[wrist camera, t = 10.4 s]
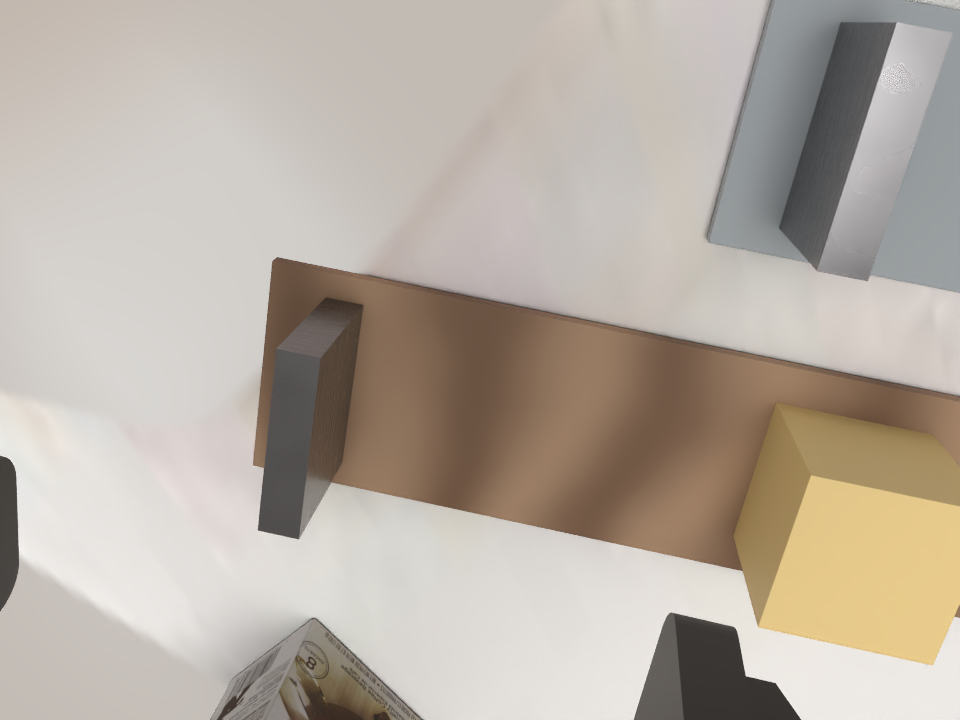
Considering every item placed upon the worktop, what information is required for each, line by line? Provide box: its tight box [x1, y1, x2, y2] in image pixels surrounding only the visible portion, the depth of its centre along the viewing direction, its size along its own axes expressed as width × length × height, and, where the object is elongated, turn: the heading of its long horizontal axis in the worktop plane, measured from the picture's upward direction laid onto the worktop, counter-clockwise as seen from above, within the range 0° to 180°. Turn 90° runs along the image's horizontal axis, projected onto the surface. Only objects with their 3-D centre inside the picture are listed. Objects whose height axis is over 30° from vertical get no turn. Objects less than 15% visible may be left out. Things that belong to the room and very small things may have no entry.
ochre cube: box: [733, 403, 960, 665], centre depth 33 cm, size 6×6×6 cm
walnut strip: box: [253, 257, 960, 618], centre depth 34 cm, size 30×9×7 cm, turn 80°
